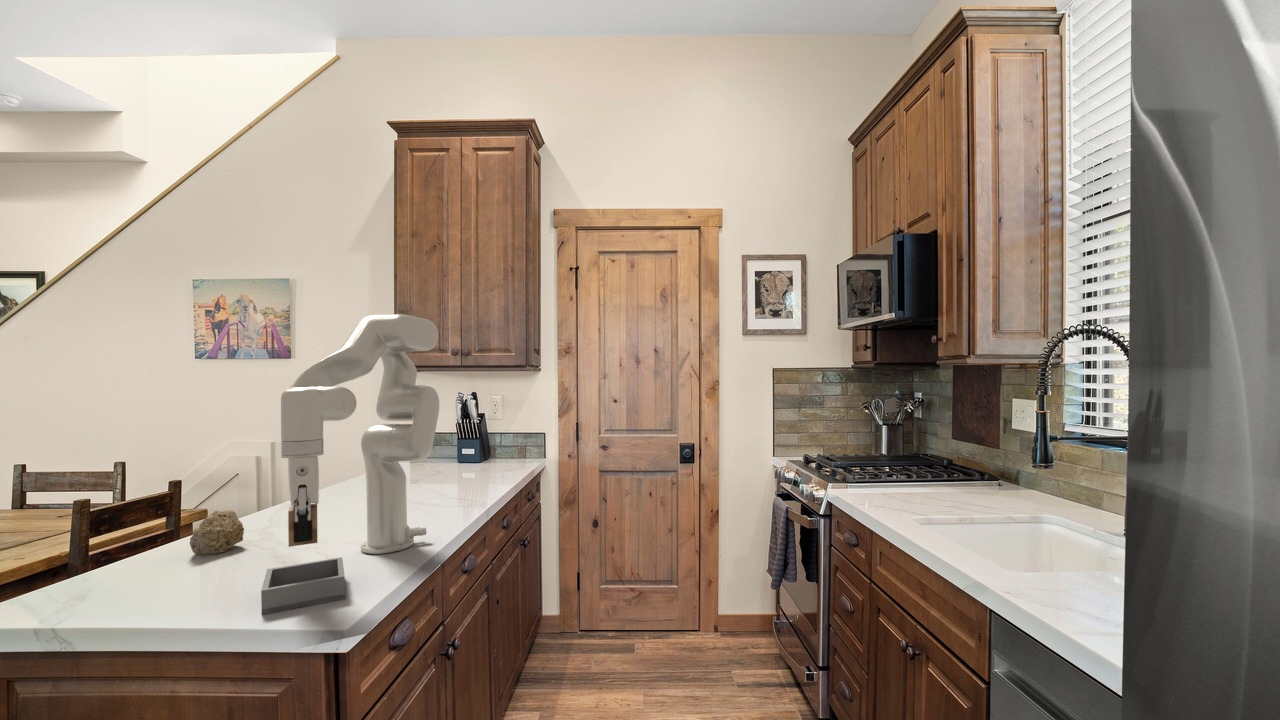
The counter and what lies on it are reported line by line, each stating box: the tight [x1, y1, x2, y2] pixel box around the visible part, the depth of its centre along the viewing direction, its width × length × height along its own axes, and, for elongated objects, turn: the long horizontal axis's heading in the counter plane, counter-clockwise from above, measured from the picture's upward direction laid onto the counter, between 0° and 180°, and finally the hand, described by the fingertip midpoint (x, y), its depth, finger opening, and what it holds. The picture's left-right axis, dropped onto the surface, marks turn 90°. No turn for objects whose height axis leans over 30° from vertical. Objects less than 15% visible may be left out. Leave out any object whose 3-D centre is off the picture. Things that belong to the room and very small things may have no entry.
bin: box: [260, 556, 346, 616], centre depth 119 cm, size 14×14×4 cm
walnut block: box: [287, 503, 318, 548], centre depth 119 cm, size 5×5×7 cm
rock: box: [189, 510, 245, 556], centre depth 150 cm, size 11×12×10 cm
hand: (303, 536), depth 119 cm, fingers closed on walnut block, 5 cm apart
